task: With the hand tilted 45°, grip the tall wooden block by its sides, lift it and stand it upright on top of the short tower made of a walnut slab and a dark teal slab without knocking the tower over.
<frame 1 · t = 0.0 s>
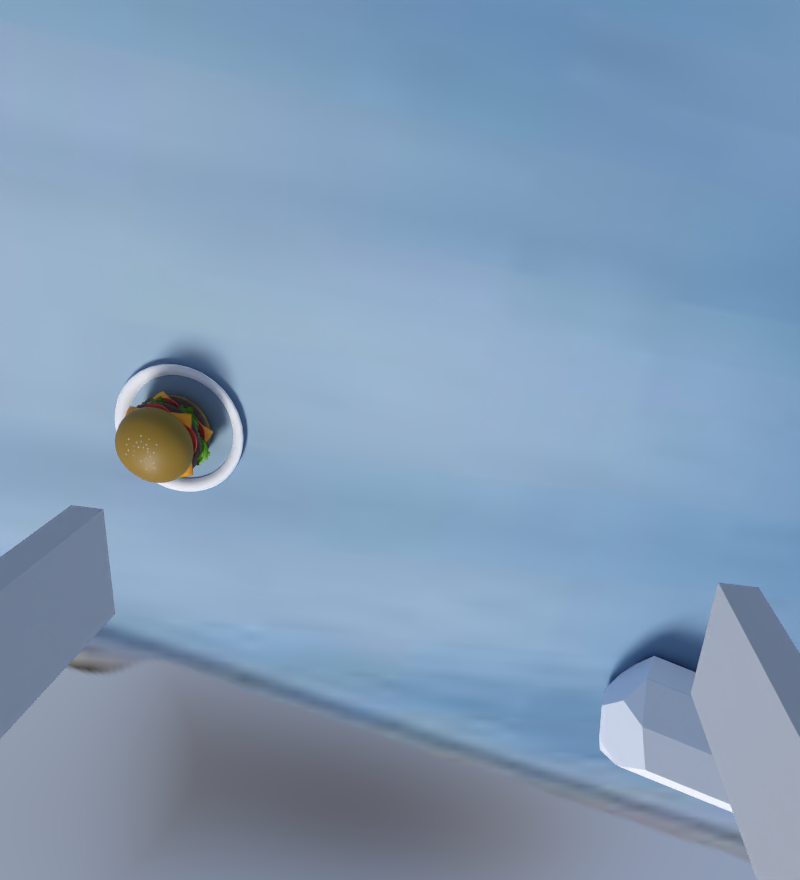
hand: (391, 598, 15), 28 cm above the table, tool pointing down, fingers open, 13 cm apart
crystal: (756, 739, 48), on the table
hamburger: (186, 423, 46), on the table
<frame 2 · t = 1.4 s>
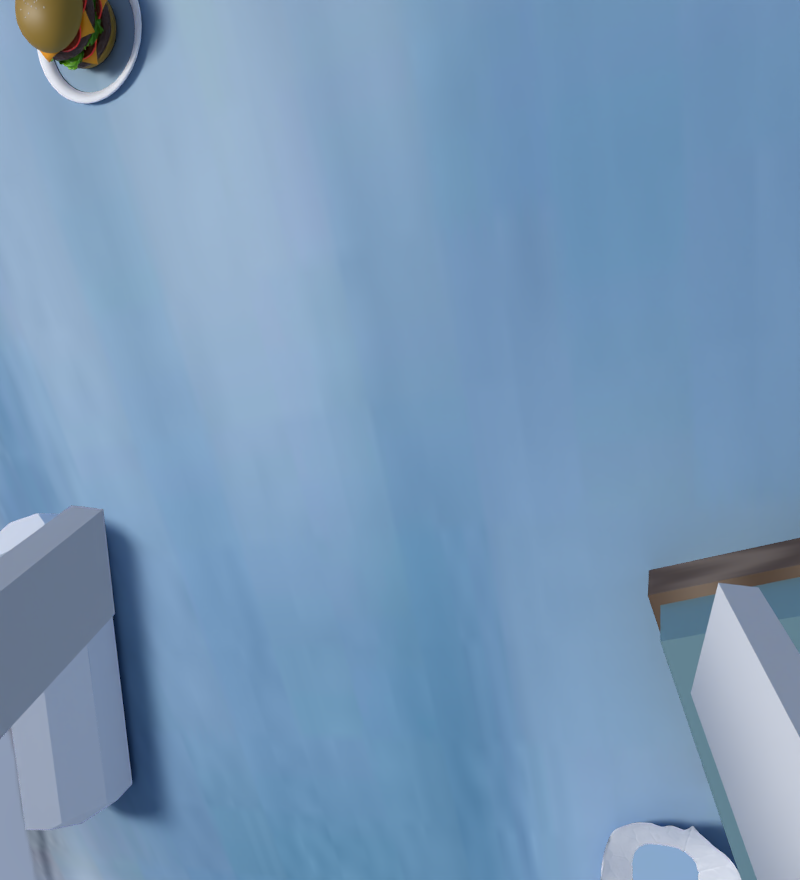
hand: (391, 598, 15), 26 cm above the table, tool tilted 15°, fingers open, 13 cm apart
crystal: (89, 653, 54), on the table
hamburger: (101, 40, 47), on the table
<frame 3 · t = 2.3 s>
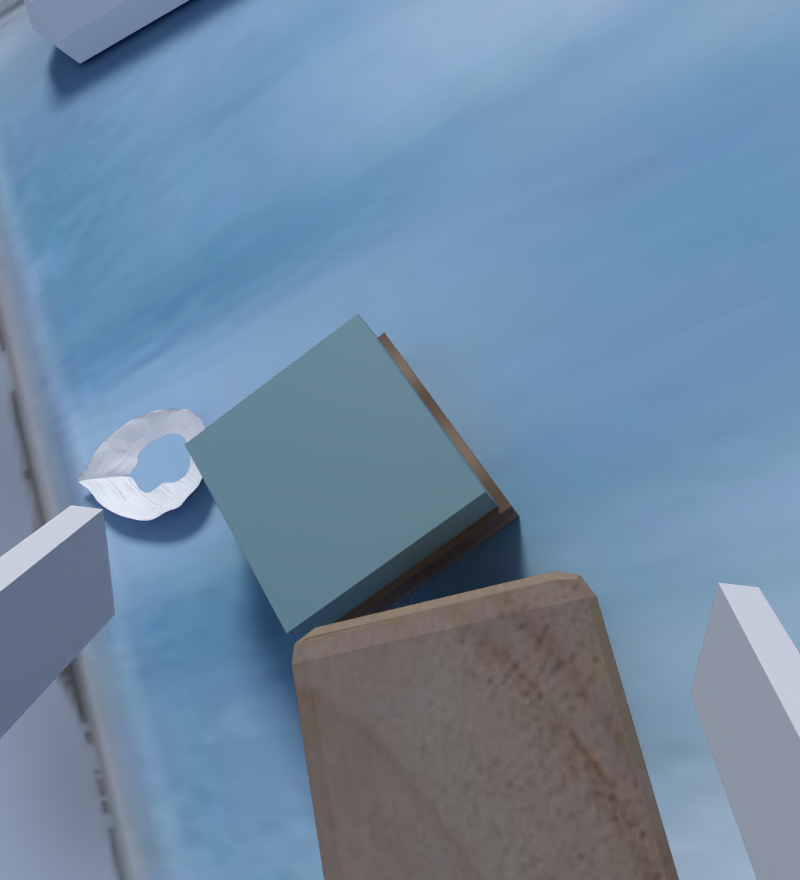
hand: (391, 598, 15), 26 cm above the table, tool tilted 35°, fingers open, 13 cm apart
tower base: (376, 494, 44), on the table
wooden block: (528, 699, 38), on the table
tower top: (353, 482, 40), point 4 cm above the table
oyster: (162, 469, 49), on the table
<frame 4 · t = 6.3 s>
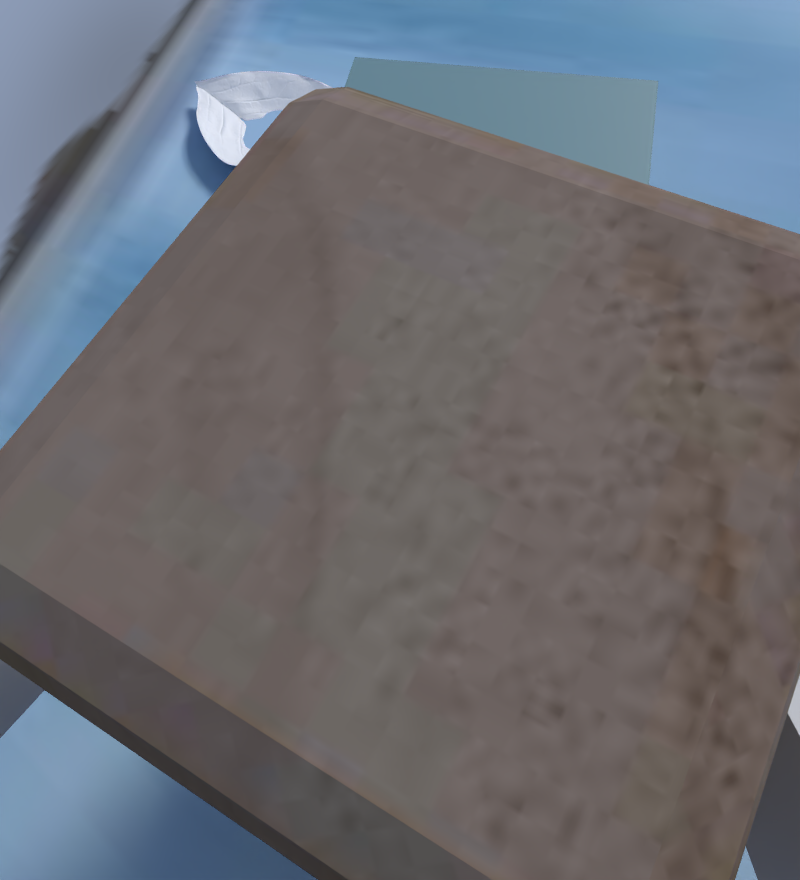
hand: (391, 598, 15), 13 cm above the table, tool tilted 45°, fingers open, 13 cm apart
wooden block: (448, 647, 27), on the table, touching gripper
tower top: (473, 263, 29), point 4 cm above the table, touching tower base
oyster: (280, 142, 39), on the table
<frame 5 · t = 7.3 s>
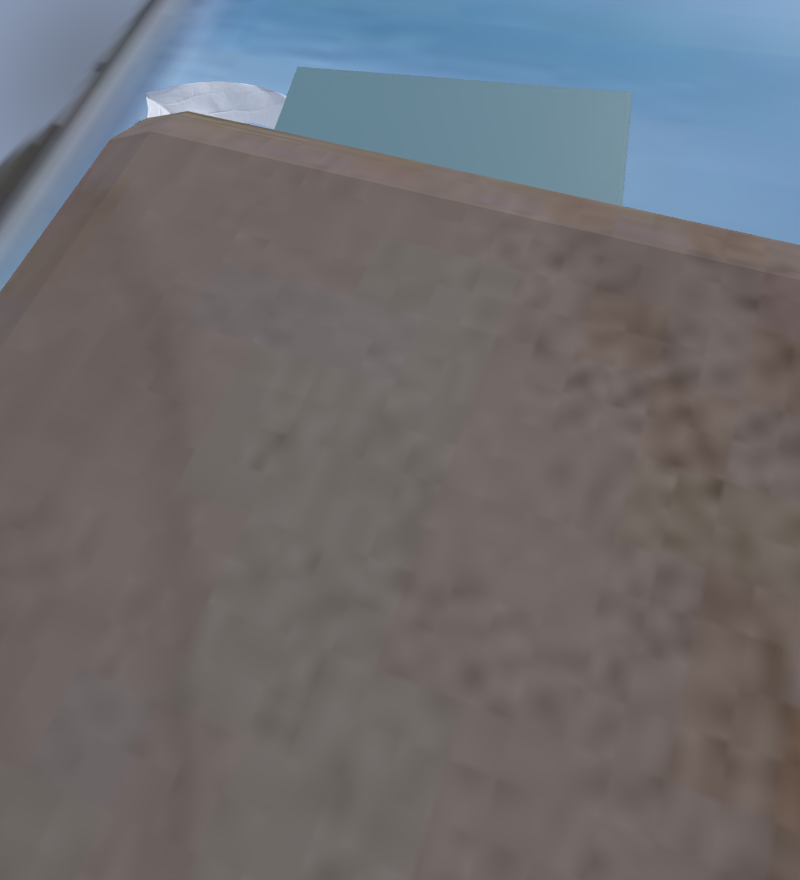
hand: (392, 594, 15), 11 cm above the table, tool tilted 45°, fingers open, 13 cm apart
wooden block: (425, 713, 24), on the table, touching gripper
tower top: (432, 293, 26), point 4 cm above the table
oyster: (236, 158, 36), on the table
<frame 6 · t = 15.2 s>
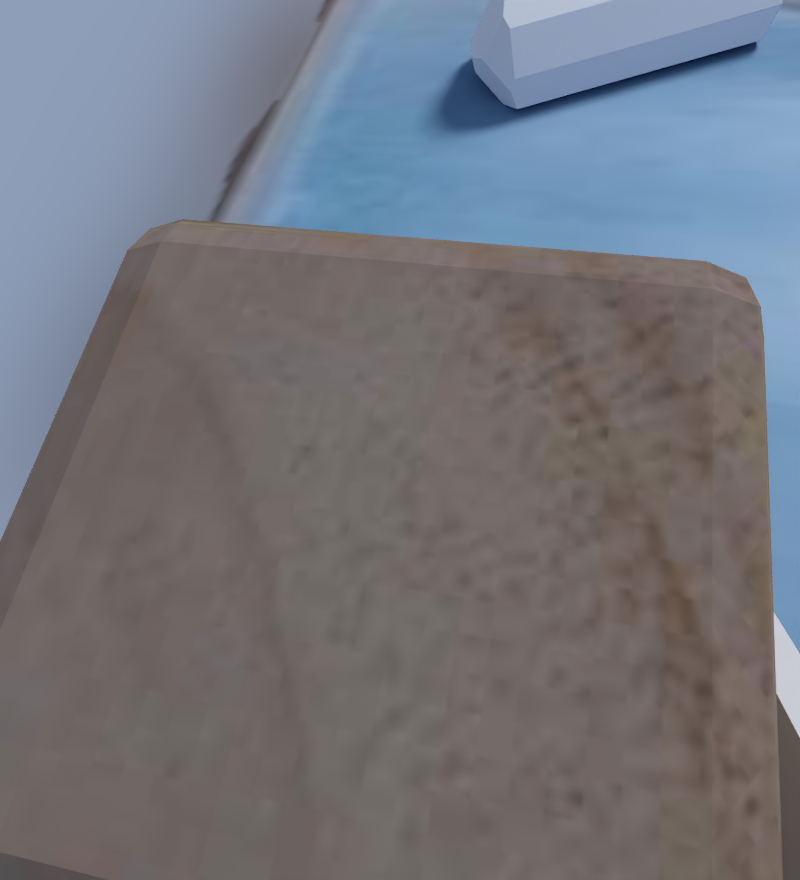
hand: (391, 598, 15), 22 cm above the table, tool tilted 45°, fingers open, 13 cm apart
crystal: (617, 54, 53), on the table
wooden block: (438, 690, 26), point 9 cm above the table
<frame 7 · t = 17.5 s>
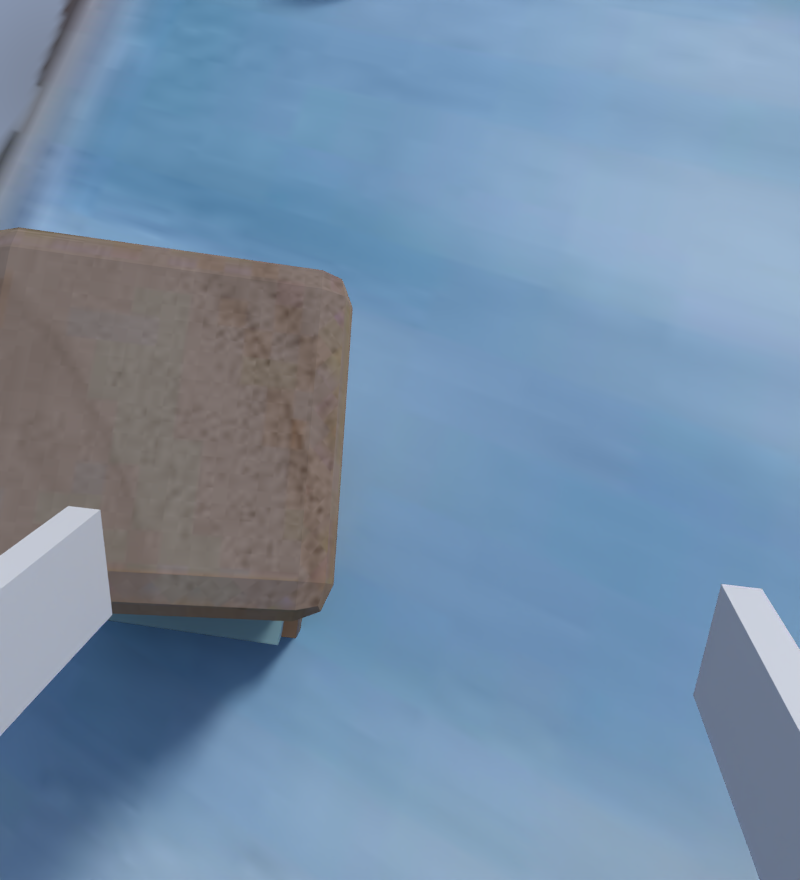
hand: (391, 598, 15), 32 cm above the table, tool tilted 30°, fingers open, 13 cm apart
wooden block: (204, 511, 37), point 9 cm above the table, touching gripper, tower top
tower top: (199, 520, 41), point 5 cm above the table, touching tower base, wooden block
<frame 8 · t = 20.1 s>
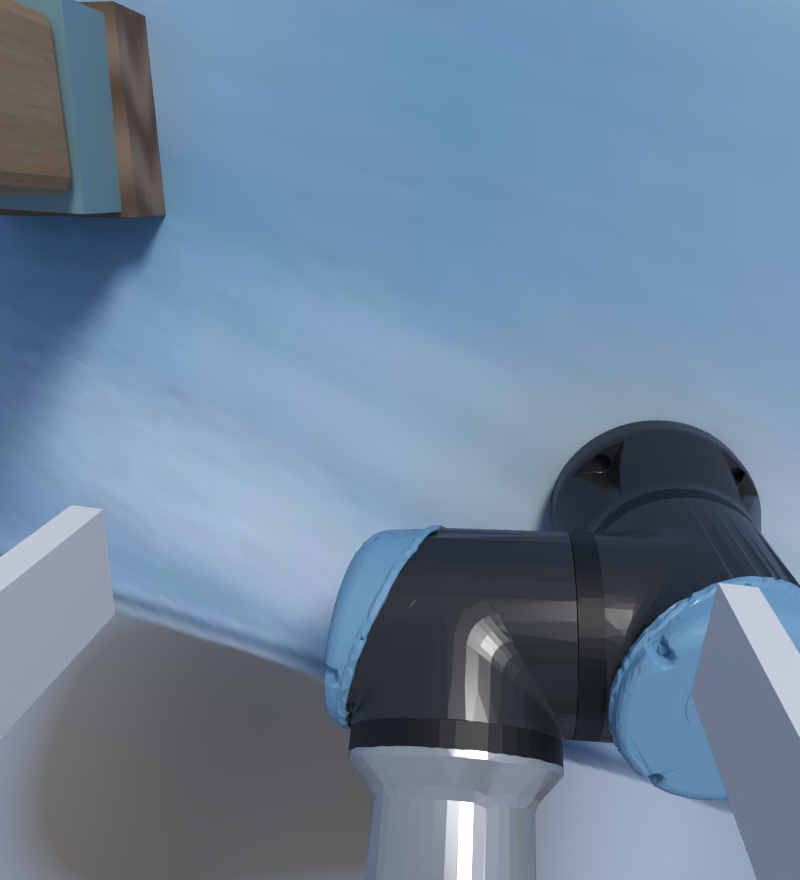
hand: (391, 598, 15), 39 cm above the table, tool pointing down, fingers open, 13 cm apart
tower base: (75, 120, 51), on the table, touching tower top
tower top: (30, 113, 47), point 4 cm above the table, touching tower base
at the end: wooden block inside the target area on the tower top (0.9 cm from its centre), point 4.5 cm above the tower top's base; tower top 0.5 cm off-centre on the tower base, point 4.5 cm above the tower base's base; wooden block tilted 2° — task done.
